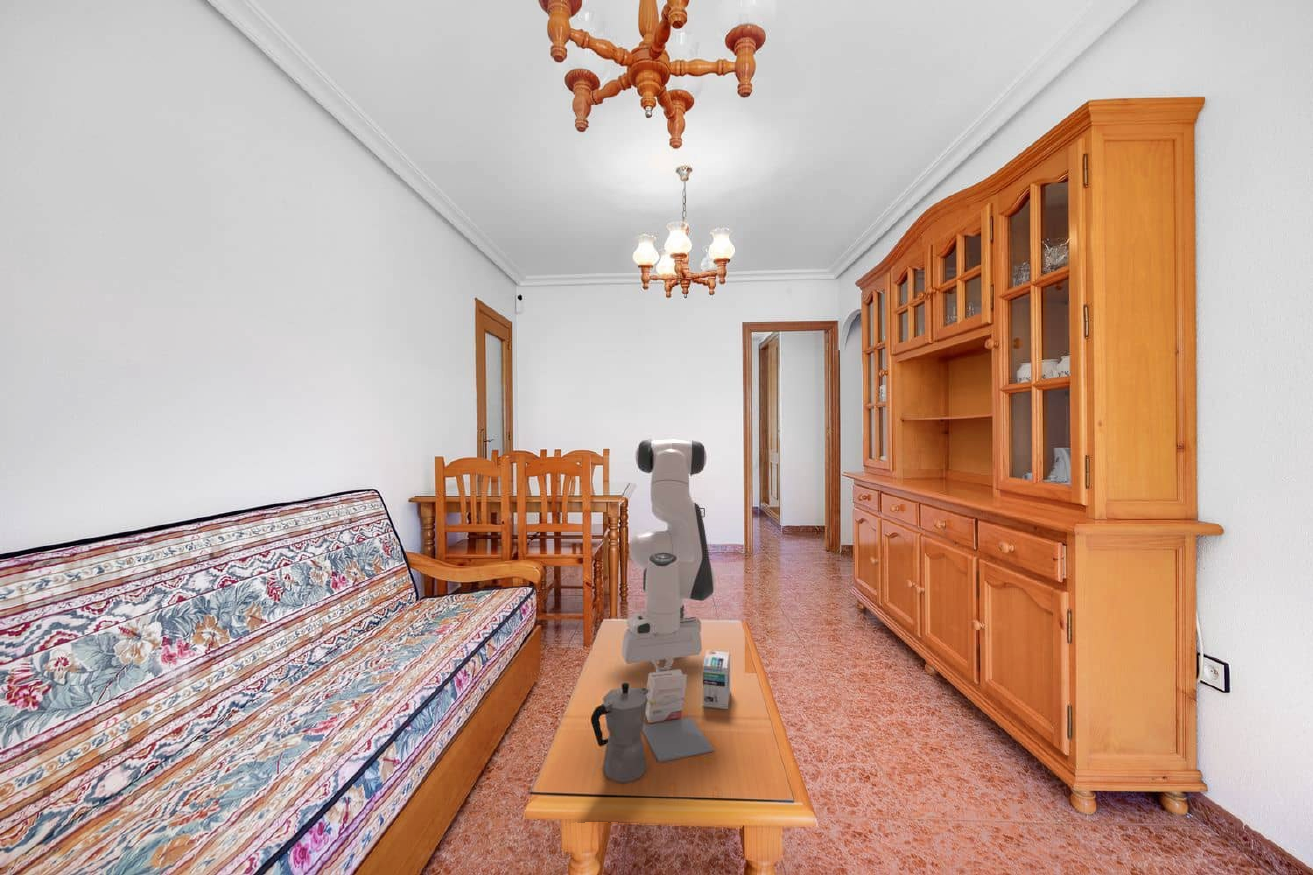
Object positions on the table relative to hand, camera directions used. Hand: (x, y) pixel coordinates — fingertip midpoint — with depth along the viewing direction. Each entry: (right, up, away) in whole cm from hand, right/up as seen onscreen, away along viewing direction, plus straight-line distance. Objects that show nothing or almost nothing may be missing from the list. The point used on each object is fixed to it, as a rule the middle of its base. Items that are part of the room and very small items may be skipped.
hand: (662, 675), depth 129 cm
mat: (+3, -10, -9) cm, 14 cm away
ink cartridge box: (0, -10, +1) cm, 10 cm away
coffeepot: (-9, -11, -21) cm, 25 cm away
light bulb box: (+15, -11, +10) cm, 21 cm away
